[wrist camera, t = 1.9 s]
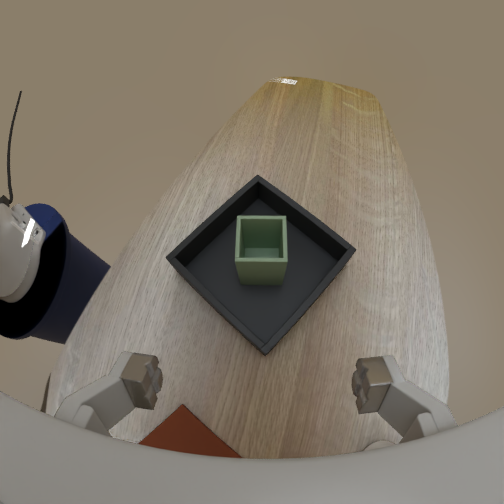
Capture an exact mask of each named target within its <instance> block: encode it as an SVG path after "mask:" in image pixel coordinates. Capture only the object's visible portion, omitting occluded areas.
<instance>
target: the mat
mask: <svg viewBox="0 0 504 504" xmlns="http://www.w3.org/2000/svg"><path fill="white" fill-rule="evenodd" d="M138 444H140V445H145V446H149V447H154V448H159V449H165V450H170V451H176V452H183V453H190V454H197V455H206V456H216V457H229V458H242V457H241V456H240V455H238V454H237V453H236V452H235V451H234V450H232V449H231V448H230V447H229V446H228V445H226V444H225V443H224V442H223V441H222V440H221V439H219V438H218V437H217V436H216V435H215V434H214V433H213V432H212V431H210V430H209V429H208V428H207V427H206V426H205V425H204V424H203V423H202V422H201V421H200V420H199V419H198V418H197V417H195V416H194V415H193V414H192V413H191V412H190V411H189V410H188V409H187V408H186V407H185V406H184V405H183V404H182V405H181V406H180V407H179V408H178V409H177V410H176V411H174V412H173V413H172V414H171V415H170V416H169V417H168V418H167V419H166V420H165V421H163V422H162V423H161V424H160V425H159V426H158V427H157V428H156V429H155V430H153V431H152V432H151V433H150V434H149V435H148V436H147V437H145V438H144V439H143V440H142V441H141V442H140V443H138Z"/></svg>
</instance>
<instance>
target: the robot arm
mask: <svg viewBox="0 0 504 504" xmlns="http://www.w3.org/2000/svg"><path fill="white" fill-rule="evenodd" d="M21 93H22V91H20V94H19V98H18V101H17V105H16V109H15V112H14V116H13V120H12V124H11V129H10V134H9V141H8V153H7V173H8V188H9V194H10V200H8V199H7V198H6V197H5V196H4V195H3V196H2V197H1V198H0V300H4V301H6V302H8V303H14V302H17V301H19V300H20V299H21V298H22V297H24V296H25V294H26V293H27V292H28V291H29V289H30V287H31V286H32V284H33V282H34V280H35V277H36V274H37V271H38V268H39V263H40V254H41V248H42V245H43V243H44V240H45V237H46V232H45V231H44V230H43V229H42V227H41V226H40V225H39V224H38V223H37V222H36V221H35V219H34V218H33V217H32V216H31V215H30V214H29V212H28V211H27V210H26V209H25V208H24V207H23V205H21V204H17V205H15V206H14V207H12V208H11V209H10V208H9V204H11V203H12V200H13V194H12V188H11V176H10V144H11V136H12V130H13V125H14V120H15V116H16V112H17V108H18V104H19V100H20V97H21ZM158 364H159V361H158V358H157V357H156V356H153V355H147V354H140V353H132V352H127V351H123V352H122V353H121V354H120V356H119V358H118V359H117V361H116V363H115V364H114V366H113V368H112V370H111V371H110V373H109V375H108V376H103V377H101V378H100V379H98V380H96V381H94V382H93V383H91V384H89V385H87V386H85V387H84V388H82V389H80V390H78V391H77V392H75V393H73V394H71V395H69V396H68V397H66V398H65V399H64V401H63V402H62V404H61V406H60V407H59V409H58V410H57V412H56V414H55V416H54V417H52V416H50V415H48V414H45V413H43V412H41V411H39V410H37V409H34V408H32V407H30V406H28V405H26V404H24V403H22V402H20V401H18V400H16V399H14V398H12V397H10V396H9V395H7V394H5V393H3V392H1V391H0V504H504V407H501V408H499V409H497V410H495V411H493V412H491V413H488V414H486V415H484V416H482V417H479V418H477V419H475V420H472V421H470V422H467V423H465V424H462V425H459V426H458V425H457V423H456V421H455V419H454V417H453V415H452V413H451V411H450V409H449V407H448V405H446V404H444V403H443V402H441V401H440V400H438V399H437V398H435V397H433V396H432V395H430V394H429V393H427V392H426V391H424V390H423V389H421V388H419V387H418V386H416V385H415V384H413V383H412V382H410V381H406V380H405V378H404V376H403V374H402V372H401V370H400V368H399V366H398V364H397V362H396V360H395V358H394V356H393V355H386V356H381V357H380V356H378V357H370V358H360V359H358V360H357V363H356V368H357V370H356V371H355V372H354V373H353V376H352V384H351V385H352V391H353V394H354V395H355V396H356V397H357V399H356V406H357V409H358V413H359V414H364V413H373V412H378V414H379V415H380V416H381V417H383V418H384V419H385V420H386V421H387V422H388V423H389V424H390V425H391V426H392V427H393V428H394V429H395V430H396V431H397V432H398V433H399V434H400V435H401V436H403V438H402V440H401V441H400V442H399V444H396V445H391V446H387V447H382V448H377V449H372V450H366V451H360V452H354V453H347V454H339V455H331V456H320V457H308V458H288V459H249V458H229V457H216V456H206V455H197V454H190V453H183V452H176V451H170V450H165V449H159V448H154V447H149V446H145V445H140V444H136V443H132V442H128V441H124V440H120V439H116V438H113V437H112V436H111V435H110V434H109V432H108V430H109V429H111V428H112V427H113V426H114V425H116V424H117V423H118V422H119V421H120V420H122V419H123V418H124V417H125V416H126V415H128V414H129V413H130V412H131V411H132V410H133V409H135V407H137V408H143V409H150V410H154V407H155V404H156V401H157V399H158V398H157V396H156V393H158V392H159V391H160V390H161V388H162V383H163V375H162V371H161V369H160V368H158V367H157V366H158Z"/></svg>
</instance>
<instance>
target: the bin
mask: <svg viewBox="0 0 504 504" xmlns="http://www.w3.org/2000/svg"><path fill="white" fill-rule="evenodd" d="M237 216H286V225H287V257H288V262H287V266H286V271H285V275H284V279H283V284H282V285H241V284H240V280H239V276H238V272H237V268H236V264H235V247H236V227H237ZM355 251H356V249H355V248H354V247H353V246H351V245H350V244H349V243H348V242H347V241H345V240H344V239H343V238H342V237H340V236H339V235H338V234H337V233H335V232H334V231H333V230H332V229H330V228H329V227H328V226H327V225H325V224H324V223H323V222H321V221H320V220H319V219H318V218H316V217H315V216H314V215H312V214H311V213H310V212H308V211H307V210H306V209H304V208H303V207H302V206H300V205H299V204H298V203H296V202H295V201H294V200H292V199H291V198H290V197H288V196H287V195H286V194H284V193H283V192H281V191H280V190H279V189H277V188H276V187H275V186H273V185H272V184H270V183H269V182H268V181H266V180H265V179H263V178H262V177H260V176H259V175H256V176H255V177H254V178H253V179H252V180H251V181H249V182H248V183H247V184H246V185H245V186H244V187H242V188H241V189H240V190H239V191H238V192H237V193H236V194H234V195H233V196H232V197H231V198H230V199H229V200H228V201H226V202H225V203H224V204H223V205H222V206H221V207H220V208H218V209H217V210H216V211H215V212H214V213H213V214H212V215H211V216H210V217H208V218H207V219H206V220H205V221H204V222H203V223H202V224H201V225H200V226H199V227H197V228H196V229H195V230H194V231H193V232H192V233H191V234H190V235H189V236H188V237H187V238H186V239H184V240H183V241H182V242H181V243H180V244H179V245H178V246H177V247H176V248H175V249H174V250H173V251H172V252H171V253H170V254H169V255H168V256H166V259H167V260H168V261H169V262H170V264H171V265H172V266H173V267H174V268H175V270H176V271H177V272H178V273H179V274H180V275H181V276H182V277H183V278H184V279H185V280H186V281H187V282H188V283H189V284H190V285H191V286H192V287H193V288H194V289H195V290H196V291H197V292H198V293H199V294H200V295H201V296H202V297H203V298H204V299H205V300H206V301H207V302H208V303H209V304H210V305H211V306H212V307H213V308H214V309H215V310H216V311H217V312H218V313H219V314H220V315H221V316H222V317H223V318H224V319H225V320H227V321H228V322H229V323H230V324H231V325H232V326H233V327H234V328H235V329H236V330H237V331H238V332H239V333H240V334H241V335H242V336H244V337H245V338H246V339H247V340H248V341H249V342H250V343H251V344H252V345H253V346H254V347H256V348H257V349H258V350H259V351H260V352H261V353H262V354H263V355H264V356H266V355H267V354H268V353H269V352H270V351H271V350H272V349H273V348H274V347H275V346H276V344H277V343H278V342H279V341H280V340H281V339H282V338H283V337H284V336H285V335H286V334H287V333H288V331H289V330H290V329H291V328H292V327H293V326H294V325H295V324H296V323H297V321H298V320H299V319H300V318H301V317H302V316H303V315H304V314H305V312H306V311H307V310H308V309H309V308H310V307H311V305H312V304H313V303H314V302H315V301H316V300H317V298H318V297H319V296H320V295H321V294H322V293H323V291H324V290H325V289H326V288H327V287H328V285H329V284H330V283H331V282H332V281H333V279H334V278H335V277H336V276H337V274H338V273H339V272H340V271H341V270H342V268H343V267H344V266H345V265H346V263H347V262H348V261H349V259H350V258H351V257H352V255H353V254H354V252H355Z"/></svg>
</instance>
